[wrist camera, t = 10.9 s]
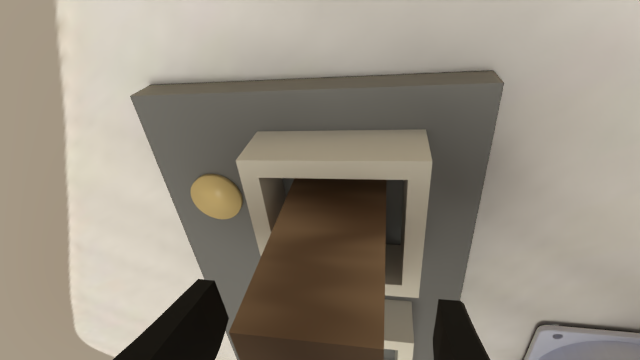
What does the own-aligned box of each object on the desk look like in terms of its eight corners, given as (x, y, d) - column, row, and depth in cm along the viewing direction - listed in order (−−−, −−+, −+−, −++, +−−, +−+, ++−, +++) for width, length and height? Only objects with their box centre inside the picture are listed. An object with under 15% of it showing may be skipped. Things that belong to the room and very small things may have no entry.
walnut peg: (386, 172, 15) (383, 349, 8) (385, 240, 17) (382, 424, 10) (297, 171, 15) (228, 332, 9) (307, 236, 18) (258, 405, 11)
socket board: (493, 70, 13) (527, 109, 10) (439, 364, 24) (447, 428, 21) (149, 85, 16) (88, 119, 13) (244, 342, 27) (224, 395, 24)
